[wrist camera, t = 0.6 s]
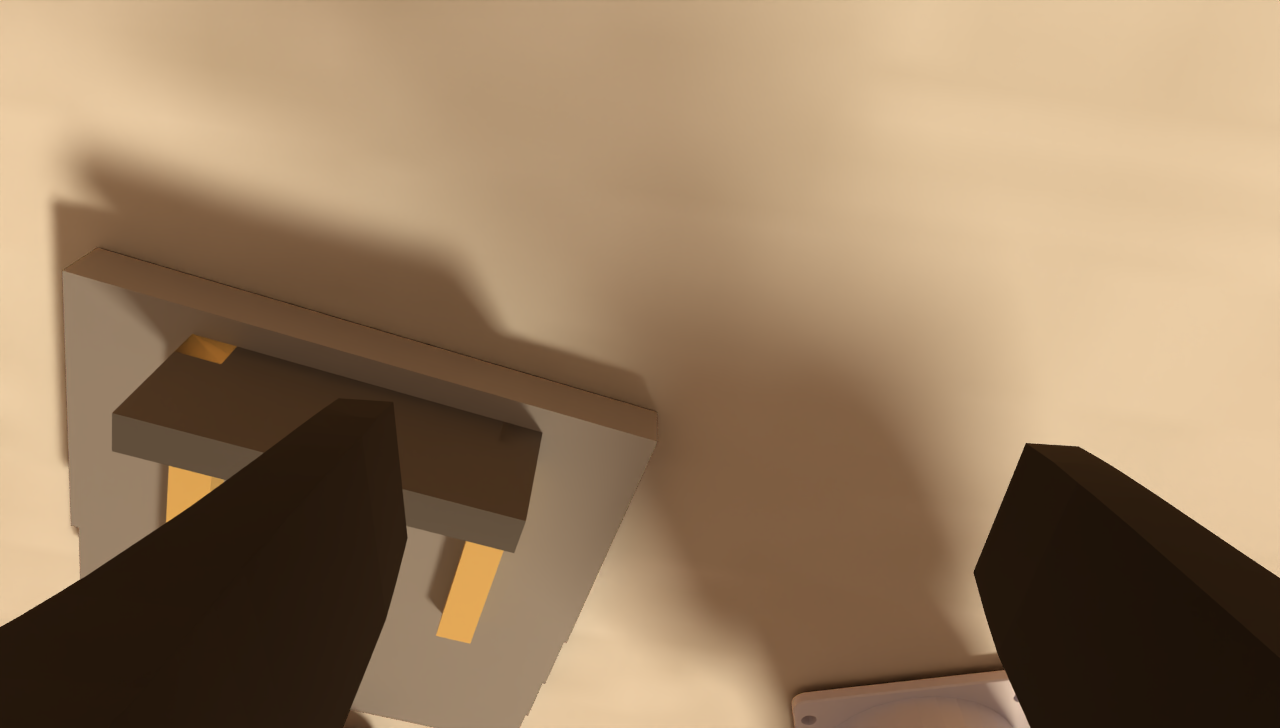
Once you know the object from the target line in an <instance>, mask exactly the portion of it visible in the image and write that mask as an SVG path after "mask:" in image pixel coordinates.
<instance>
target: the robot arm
mask: <svg viewBox="0 0 1280 728" xmlns="http://www.w3.org/2000/svg"><path fill="white" fill-rule="evenodd" d="M407 539H408V537H407V527H406V518H405V508H404V499H403V489H402V480H401V470H400V461H399V451H398V442H397V432H396V423H395V413H394V404H393V402H389V401H373V400H358V399H343V398H338V399H337V400H335V401H334V402H332V403H331V404H329V405H328V406H326V407H325V408H324V409H322V410H321V411H319V412H318V413H317V414H315V415H314V416H313V417H311V418H310V419H308V420H307V421H306V422H304V423H303V424H302V425H300V426H299V427H298V428H296V429H295V430H294V431H292V432H291V433H290V434H288V435H287V436H286V437H284V438H283V439H282V440H280V441H279V442H278V443H276V444H275V445H274V446H272V447H271V448H270V449H268V450H267V451H266V452H264V453H263V454H262V455H260V456H259V457H258V458H256V459H255V460H254V461H252V462H251V463H249V464H248V465H247V466H245V467H244V468H243V469H241V470H240V471H238V472H237V473H236V474H234V475H233V476H232V477H230V478H229V479H227V480H226V481H225V482H223V483H222V484H221V485H219V486H218V487H216V488H215V489H214V490H212V491H211V492H210V493H208V494H207V495H205V496H204V497H203V498H201V499H200V500H199V501H197V502H196V503H194V504H193V505H192V506H190V507H189V508H187V509H186V510H184V511H183V512H181V513H180V514H178V515H177V516H175V517H174V518H172V519H171V520H169V521H168V522H166V523H165V524H163V525H162V526H160V527H159V528H157V529H156V530H154V531H153V532H151V533H150V534H148V535H147V536H145V537H144V538H142V539H141V540H139V541H138V542H136V543H135V544H133V545H132V546H130V547H129V548H127V549H126V550H124V551H123V552H121V553H120V554H118V555H117V556H115V557H114V558H112V559H111V560H109V561H108V562H106V563H105V564H103V565H102V566H100V567H99V568H97V569H96V570H94V571H93V572H91V573H90V574H88V575H87V576H85V577H83V578H82V579H80V580H79V581H77V582H75V583H74V584H72V585H71V586H69V587H67V588H66V589H64V590H63V591H61V592H59V593H58V594H56V595H54V596H53V597H51V598H49V599H48V600H46V601H44V602H43V603H41V604H39V605H38V606H36V607H34V608H33V609H31V610H29V611H28V612H26V613H24V614H23V615H21V616H19V617H17V618H16V619H14V620H12V621H10V622H9V623H7V624H5V625H3V626H1V627H0V728H343V726H344V723H345V721H346V718H347V716H348V713H349V711H350V709H351V706H352V704H353V701H354V699H355V696H356V694H357V691H358V689H359V686H360V684H361V681H362V679H363V676H364V674H365V671H366V669H367V666H368V664H369V661H370V659H371V656H372V654H373V651H374V649H375V646H376V644H377V641H378V639H379V636H380V634H381V631H382V629H383V626H384V623H385V621H386V618H387V614H388V611H389V607H390V604H391V600H392V596H393V593H394V589H395V586H396V582H397V578H398V574H399V570H400V566H401V562H402V558H403V555H404V551H405V547H406V543H407ZM974 576H975V579H976V583H977V587H978V590H979V594H980V597H981V601H982V605H983V608H984V612H985V615H986V619H987V622H988V625H989V628H990V631H991V634H992V637H993V641H994V644H995V647H996V650H997V653H998V656H999V658H1000V660H1001V662H1002V665H1003V667H1004V669H1005V670H999V671H990V672H982V673H973V674H964V675H955V676H946V677H937V678H928V679H919V680H910V681H901V682H893V683H884V684H875V685H866V686H857V687H848V688H839V689H830V690H821V691H813V692H804V693H800V694H798V695H796V696H795V697H794V698H793V699H792V703H791V705H792V712H793V719H794V727H795V728H1280V578H1279V577H1277V576H1276V575H1274V574H1273V573H1271V572H1270V571H1268V570H1267V569H1265V568H1264V567H1262V566H1261V565H1259V564H1258V563H1256V562H1255V561H1253V560H1252V559H1250V558H1249V557H1247V556H1246V555H1244V554H1243V553H1241V552H1240V551H1238V550H1237V549H1235V548H1234V547H1232V546H1231V545H1230V544H1228V543H1227V542H1225V541H1224V540H1222V539H1221V538H1219V537H1218V536H1216V535H1215V534H1213V533H1212V532H1210V531H1209V530H1207V529H1206V528H1204V527H1203V526H1201V525H1200V524H1199V523H1197V522H1196V521H1194V520H1193V519H1191V518H1190V517H1188V516H1187V515H1185V514H1184V513H1182V512H1181V511H1179V510H1178V509H1176V508H1175V507H1173V506H1172V505H1170V504H1169V503H1168V502H1166V501H1165V500H1163V499H1162V498H1160V497H1159V496H1157V495H1156V494H1154V493H1153V492H1151V491H1150V490H1148V489H1147V488H1145V487H1144V486H1142V485H1141V484H1139V483H1137V482H1136V481H1134V480H1133V479H1131V478H1130V477H1128V476H1127V475H1125V474H1124V473H1122V472H1121V471H1119V470H1117V469H1116V468H1114V467H1113V466H1111V465H1109V464H1108V463H1106V462H1104V461H1103V460H1101V459H1099V458H1098V457H1096V456H1094V455H1092V454H1091V453H1089V452H1087V451H1085V450H1084V449H1082V448H1080V447H1076V446H1061V445H1046V444H1031V443H1026V444H1025V447H1024V449H1023V452H1022V454H1021V457H1020V459H1019V462H1018V464H1017V467H1016V469H1015V471H1014V474H1013V476H1012V479H1011V481H1010V484H1009V486H1008V489H1007V491H1006V494H1005V496H1004V498H1003V501H1002V503H1001V506H1000V508H999V511H998V513H997V516H996V518H995V521H994V523H993V525H992V528H991V530H990V533H989V535H988V538H987V540H986V543H985V545H984V548H983V550H982V552H981V555H980V557H979V560H978V562H977V565H976V567H975V570H974Z"/></svg>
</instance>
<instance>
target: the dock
mask: <svg viewBox="0 0 1280 728" xmlns="http://www.w3.org/2000/svg"><path fill="white" fill-rule="evenodd" d="M62 277H63V307H64V336H65V366H66V395H67V425H68V454H69V484H70V514H71V526H74V527H78V528H79V557H80V579H82V578H83V577H85V576H87V575H88V574H90V573H91V572H93V571H94V570H96V569H97V568H99V567H100V566H102V565H103V564H105V563H106V562H108V561H109V560H111V559H112V558H114V557H115V556H117V555H118V554H120V553H121V552H123V551H124V550H126V549H127V548H129V547H130V546H132V545H133V544H135V543H136V542H138V541H139V540H141V539H142V538H144V537H145V536H147V535H148V534H150V533H151V532H153V531H154V530H156V529H157V528H159V527H160V526H162V525H163V524H165V523H166V522H168V521H169V520H171V519H172V518H174V517H175V516H177V515H178V514H180V513H181V512H183V511H184V510H186V509H187V508H189V507H190V506H192V505H193V504H194V503H196V502H197V501H199V500H200V499H201V498H203V497H204V496H205V495H207V494H208V493H210V492H211V491H212V490H214V489H215V488H216V487H218V486H219V485H221V484H222V483H223V482H225V481H226V480H227V479H229V478H230V477H232V476H233V475H234V474H236V473H237V472H238V471H240V470H241V469H243V468H244V467H245V466H247V465H248V464H249V463H251V462H252V461H254V460H255V459H256V458H258V457H259V456H260V455H262V454H263V453H264V452H266V451H267V450H268V449H270V448H271V447H272V446H274V445H275V444H276V443H278V442H279V441H280V440H282V439H283V438H284V437H286V436H287V435H288V434H290V433H291V432H292V431H294V430H295V429H296V428H298V427H299V426H300V425H302V424H303V423H304V422H306V421H307V420H308V419H310V418H311V417H313V416H314V415H315V414H317V413H318V412H319V411H321V410H322V409H324V408H325V407H326V406H328V405H329V404H331V403H332V402H334V401H335V400H337V399H338V398H343V399H358V400H373V401H389V402H393V404H394V413H395V423H396V432H397V442H398V451H399V461H400V470H401V480H402V489H403V499H404V508H405V518H406V527H407V537H408V539H407V543H406V547H405V551H404V555H403V558H402V562H401V566H400V570H399V574H398V578H397V582H396V586H395V589H394V593H393V596H392V600H391V604H390V607H389V611H388V614H387V618H386V621H385V623H384V626H383V629H382V631H381V634H380V636H379V639H378V641H377V644H376V646H375V649H374V651H373V654H372V656H371V659H370V661H369V664H368V666H367V669H366V671H365V674H364V676H363V679H362V681H361V684H360V686H359V689H358V691H357V694H356V696H355V699H354V701H353V704H352V706H351V709H350V710H354V711H358V712H363V713H368V714H373V715H377V716H382V717H387V718H391V719H396V720H401V721H406V722H410V723H415V724H420V725H425V726H429V727H434V728H520V726H521V724H522V722H523V720H524V717H525V715H527V716H528V714H529V712H530V710H531V708H532V706H533V703H534V701H535V699H536V697H537V694H538V692H539V690H540V688H541V685H542V683H544V684H545V683H546V681H547V678H548V676H549V674H550V672H551V670H552V667H553V665H554V663H555V661H556V658H557V656H558V654H559V652H560V650H561V647H562V645H563V643H567V641H568V639H569V636H570V634H571V632H572V630H573V628H574V625H575V623H576V621H577V619H578V617H579V614H580V612H581V610H582V608H583V606H584V603H585V601H586V599H587V597H588V595H589V592H590V590H591V588H592V586H593V584H594V581H595V579H596V577H597V575H598V573H599V570H600V568H601V566H602V564H603V562H604V559H605V557H606V555H607V553H608V550H609V548H610V546H611V544H612V542H613V539H614V537H615V535H616V533H617V531H618V528H619V526H620V524H621V522H622V520H623V517H624V515H625V513H626V511H627V509H628V506H629V504H630V502H631V500H632V498H633V495H634V493H635V491H636V489H637V487H638V484H639V482H640V480H641V478H642V476H643V473H644V471H645V469H646V467H647V464H648V462H649V460H650V458H651V456H652V453H653V451H654V449H655V447H656V445H657V442H658V428H657V412H655V411H652V410H648V409H645V408H641V407H638V406H635V405H631V404H628V403H624V402H621V401H618V400H614V399H611V398H607V397H604V396H601V395H597V394H594V393H590V392H587V391H584V390H580V389H577V388H573V387H570V386H567V385H563V384H560V383H556V382H553V381H550V380H546V379H543V378H539V377H536V376H533V375H529V374H526V373H522V372H519V371H516V370H512V369H509V368H505V367H502V366H499V365H495V364H492V363H488V362H485V361H482V360H478V359H475V358H471V357H468V356H465V355H461V354H458V353H454V352H451V351H448V350H444V349H441V348H437V347H434V346H431V345H427V344H424V343H420V342H417V341H414V340H410V339H407V338H403V337H400V336H397V335H393V334H390V333H386V332H383V331H380V330H376V329H373V328H369V327H366V326H363V325H359V324H356V323H352V322H349V321H346V320H342V319H339V318H335V317H332V316H329V315H325V314H322V313H318V312H315V311H312V310H308V309H305V308H301V307H298V306H295V305H291V304H288V303H284V302H281V301H278V300H274V299H271V298H267V297H264V296H261V295H257V294H254V293H250V292H247V291H244V290H240V289H237V288H233V287H230V286H227V285H223V284H220V283H216V282H213V281H210V280H206V279H203V278H199V277H196V276H193V275H189V274H186V273H182V272H179V271H176V270H172V269H169V268H165V267H162V266H159V265H155V264H152V263H148V262H145V261H142V260H138V259H135V258H131V257H128V256H125V255H121V254H118V253H114V252H111V251H108V250H104V249H101V248H96V249H94V250H93V251H91V252H90V253H88V254H87V255H85V256H84V257H82V258H81V259H79V260H78V261H76V262H75V263H73V264H72V265H70V266H68V267H67V268H65V269H64V270H62Z"/></svg>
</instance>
